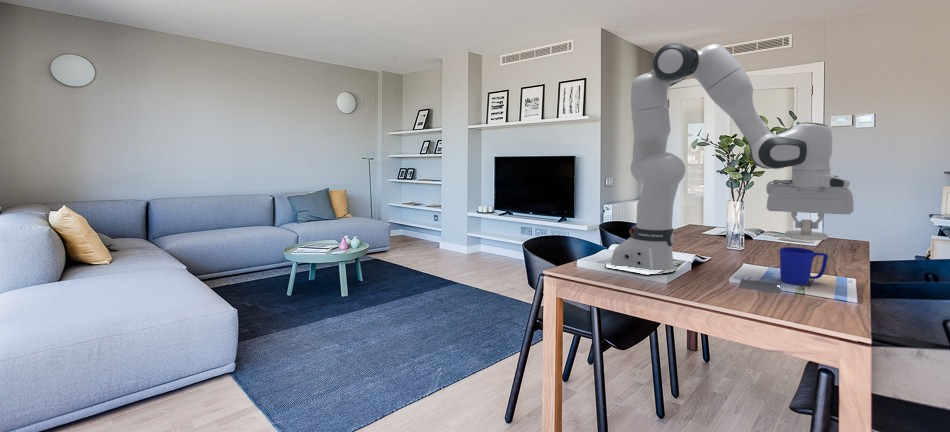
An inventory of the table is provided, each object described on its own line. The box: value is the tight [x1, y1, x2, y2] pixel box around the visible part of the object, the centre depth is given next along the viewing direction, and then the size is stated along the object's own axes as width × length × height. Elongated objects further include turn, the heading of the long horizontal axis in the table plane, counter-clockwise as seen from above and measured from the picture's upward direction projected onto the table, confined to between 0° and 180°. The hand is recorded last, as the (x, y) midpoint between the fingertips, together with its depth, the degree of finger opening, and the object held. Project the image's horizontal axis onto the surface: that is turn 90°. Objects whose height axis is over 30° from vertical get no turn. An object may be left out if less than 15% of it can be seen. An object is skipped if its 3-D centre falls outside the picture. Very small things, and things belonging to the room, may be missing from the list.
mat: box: [738, 278, 782, 294], centre depth 133 cm, size 10×10×1 cm
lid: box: [784, 219, 828, 241], centre depth 134 cm, size 10×10×5 cm
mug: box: [779, 246, 829, 286], centre depth 135 cm, size 8×12×10 cm
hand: (806, 228), depth 133 cm, fingers closed on lid, 3 cm apart
